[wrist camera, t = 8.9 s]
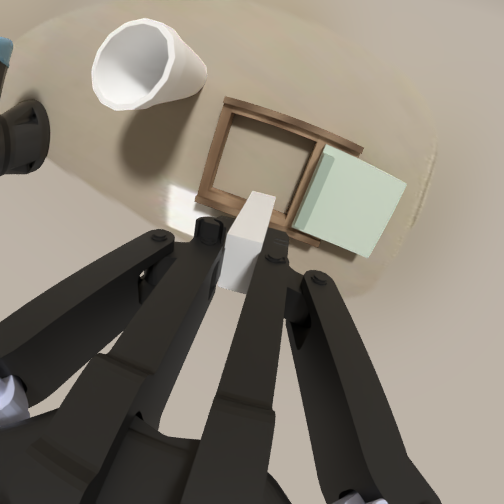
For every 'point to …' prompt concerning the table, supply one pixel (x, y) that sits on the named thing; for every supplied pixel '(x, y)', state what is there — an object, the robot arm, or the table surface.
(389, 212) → the cover
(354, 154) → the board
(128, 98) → the foam cup
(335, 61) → the table surface
